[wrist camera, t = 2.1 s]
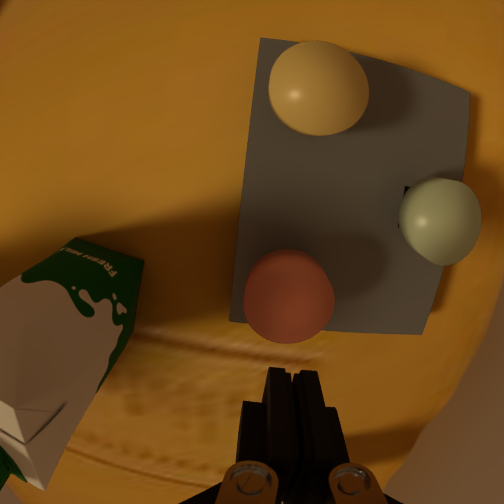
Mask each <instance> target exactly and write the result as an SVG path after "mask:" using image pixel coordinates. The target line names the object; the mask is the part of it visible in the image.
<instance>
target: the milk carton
mask: <svg viewBox="0 0 504 504" xmlns="http://www.w3.org/2000/svg"><path fill="white" fill-rule="evenodd" d="M143 266H144V261H143V260H140V259H137V258H134V257H131V256H128V255H125V254H122V253H119V252H116V251H113V250H110V249H107V248H104V247H101V246H98V245H95V244H92V243H89V242H86V241H83V240H80V239H78V238H74V239H72V240H71V241H70V242H68V243H67V244H66V245H64V246H63V247H62V248H61V249H59V250H58V251H57V252H55V253H54V254H53V255H52V256H50V257H48V258H47V259H45V260H43V261H41V262H40V263H38V264H36V265H35V266H33V267H32V268H30V269H28V270H27V271H25V272H23V273H22V274H20V275H19V276H17V277H15V278H14V279H12V280H11V281H9V282H8V283H6V284H4V285H3V286H1V287H0V490H1V489H2V487H3V486H4V484H5V482H6V481H7V479H8V478H9V476H10V474H14V475H15V476H17V477H18V478H20V479H21V480H23V481H24V482H27V481H28V482H29V483H31V484H32V485H34V486H36V487H37V488H39V489H41V490H43V491H45V490H46V488H47V486H48V484H49V481H50V479H51V477H52V475H53V473H54V470H55V468H56V466H57V464H58V462H59V460H60V458H61V456H62V454H63V452H64V450H65V448H66V446H67V444H68V442H69V440H70V438H71V436H72V434H73V432H74V430H75V429H76V427H77V425H78V424H79V422H80V420H81V419H82V417H83V415H84V413H85V412H86V410H87V408H88V407H89V405H90V403H91V402H92V400H93V398H94V397H95V395H96V393H97V392H98V390H99V388H100V387H101V385H102V383H103V382H104V380H105V378H106V377H107V375H108V374H109V372H110V370H111V369H112V367H113V366H114V364H115V362H116V361H117V359H118V357H119V356H120V354H121V353H122V351H123V349H124V348H125V346H126V344H127V342H128V340H129V338H130V336H131V334H132V332H133V328H134V321H135V314H136V307H137V301H138V294H139V288H140V282H141V277H142V271H143Z"/></svg>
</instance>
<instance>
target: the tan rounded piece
mask: <svg viewBox="0 0 504 504" xmlns="http://www.w3.org/2000/svg"><path fill="white" fill-rule="evenodd" d="M268 96H269V102H270V105H271V108H272V110H273V112H274V114H275V115H276V117H277V118H278V119H279V121H280V122H281V123H282V124H283V125H285V126H286V127H287V128H289V129H290V130H292V131H294V132H296V133H298V134H301V135H304V136H309V137H322V136H327V135H331V134H335V133H339V132H342V131H344V130H346V129H348V128H350V127H351V126H353V125H354V124H355V123H356V122H357V121H358V120H359V119H360V118H361V116H362V115H363V113H364V111H365V109H366V107H367V104H368V99H369V86H368V81H367V77H366V75H365V72H364V70H363V69H362V67H361V65H360V64H359V63H358V61H357V60H356V59H355V58H354V57H353V56H352V55H351V54H350V53H348V52H347V51H345V50H344V49H342V48H340V47H339V46H336V45H334V44H331V43H327V42H322V41H308V42H302V43H299V44H296V45H294V46H292V47H290V48H288V49H287V50H286V51H284V52H283V53H282V54H281V55H280V56H279V57H278V59H277V60H276V62H275V64H274V65H273V68H272V70H271V74H270V80H269V88H268Z"/></svg>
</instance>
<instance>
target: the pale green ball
mask: <svg viewBox="0 0 504 504" xmlns="http://www.w3.org/2000/svg"><path fill="white" fill-rule="evenodd" d="M398 220H399V228H400V232H401V234H402V237H403V239H404V240H405V242H406V243H407V244H408V245H409V246H410V247H411V248H412V249H413V250H415V251H416V252H418V253H419V254H420V255H422V256H423V257H425V258H426V259H427V260H429V261H430V262H432V263H434V264H436V265H442V266H446V265H452V264H455V263H457V262H459V261H460V260H462V259H463V258H464V257H466V256H467V255H468V254H469V252H470V251H471V250H472V248H473V247H474V245H475V243H476V241H477V239H478V236H479V233H480V229H481V221H482V217H481V208H480V204H479V201H478V199H477V197H476V195H475V194H474V192H473V191H472V190H471V189H470V188H469V187H468V186H467V185H465V184H464V183H462V182H459V181H455V180H450V179H445V178H440V177H434V176H430V177H425V178H422V179H420V180H418V181H417V182H415V183H414V184H413V185H412V186H411V187H410V188H409V189H408V190H407V192H406V193H405V195H404V197H403V199H402V202H401V204H400V208H399V219H398Z"/></svg>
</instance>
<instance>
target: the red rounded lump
mask: <svg viewBox="0 0 504 504" xmlns="http://www.w3.org/2000/svg"><path fill="white" fill-rule="evenodd" d="M334 304H335V297H334V292H333V288H332V286H331V284H330V282H329V280H328V278H327V276H326V274H325V272H324V270H323V268H322V267H321V265H320V264H319V262H318V261H317V260H316V259H315V258H313V257H312V256H310V255H309V254H307V253H305V252H303V251H299V250H295V249H280V250H276V251H273V252H270V253H268V254H266V255H264V256H263V257H261V258H260V259H259V260H258V261H257V262H256V263H255V264H254V265H253V266H252V268H251V269H250V271H249V273H248V276H247V279H246V284H245V293H244V313H245V317H246V319H247V321H248V323H249V325H250V326H251V327H252V329H253V330H254V331H255V332H256V333H257V334H259V335H260V336H262V337H263V338H265V339H267V340H270V341H273V342H277V343H285V344H289V343H297V342H301V341H304V340H307V339H309V338H311V337H313V336H314V335H316V334H317V333H319V332H320V331H321V330H322V329H323V328H324V327H325V326H326V324H327V323H328V321H329V320H330V318H331V316H332V313H333V310H334Z"/></svg>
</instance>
